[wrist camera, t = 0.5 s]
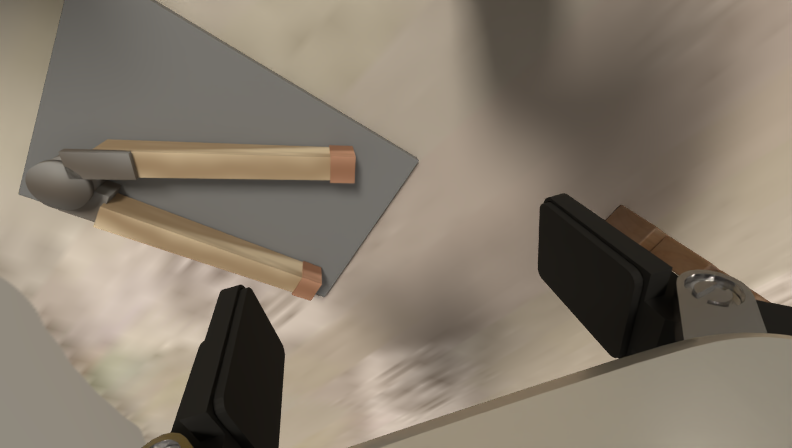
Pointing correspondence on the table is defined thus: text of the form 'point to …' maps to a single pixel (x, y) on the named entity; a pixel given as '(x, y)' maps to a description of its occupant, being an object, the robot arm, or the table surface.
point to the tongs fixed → (195, 240)
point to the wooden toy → (661, 244)
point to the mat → (210, 129)
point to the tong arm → (181, 166)
